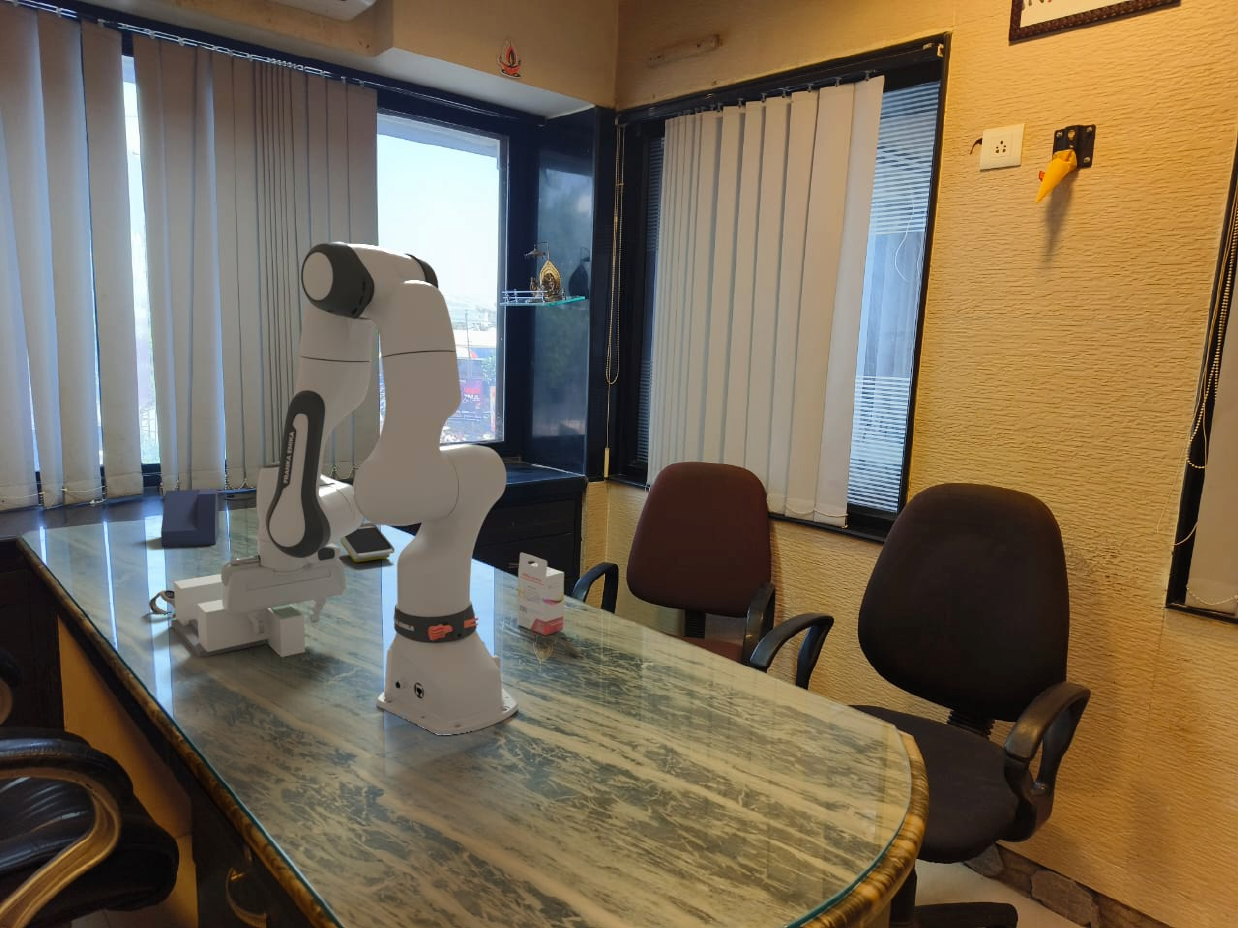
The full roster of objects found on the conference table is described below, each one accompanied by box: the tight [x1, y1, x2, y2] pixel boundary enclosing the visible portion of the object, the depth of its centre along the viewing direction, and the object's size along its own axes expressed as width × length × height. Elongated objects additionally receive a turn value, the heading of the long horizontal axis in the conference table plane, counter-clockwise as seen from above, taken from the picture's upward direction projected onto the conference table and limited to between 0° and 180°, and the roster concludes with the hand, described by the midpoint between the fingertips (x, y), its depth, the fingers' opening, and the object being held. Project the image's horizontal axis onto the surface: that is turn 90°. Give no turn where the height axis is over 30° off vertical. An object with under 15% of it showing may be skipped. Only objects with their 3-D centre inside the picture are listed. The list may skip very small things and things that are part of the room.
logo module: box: [267, 604, 306, 658], centre depth 138 cm, size 7×4×7 cm, turn 41°
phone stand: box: [160, 488, 220, 548], centre depth 203 cm, size 12×12×12 cm
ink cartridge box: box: [516, 552, 565, 636], centre depth 153 cm, size 9×5×15 cm, turn 47°
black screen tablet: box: [339, 522, 395, 563], centre depth 196 cm, size 9×4×15 cm
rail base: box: [170, 573, 269, 658], centre depth 143 cm, size 20×12×8 cm, turn 43°
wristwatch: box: [148, 589, 176, 617], centre depth 152 cm, size 4×6×5 cm, turn 78°
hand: (286, 627), depth 139 cm, fingers open, 8 cm apart
